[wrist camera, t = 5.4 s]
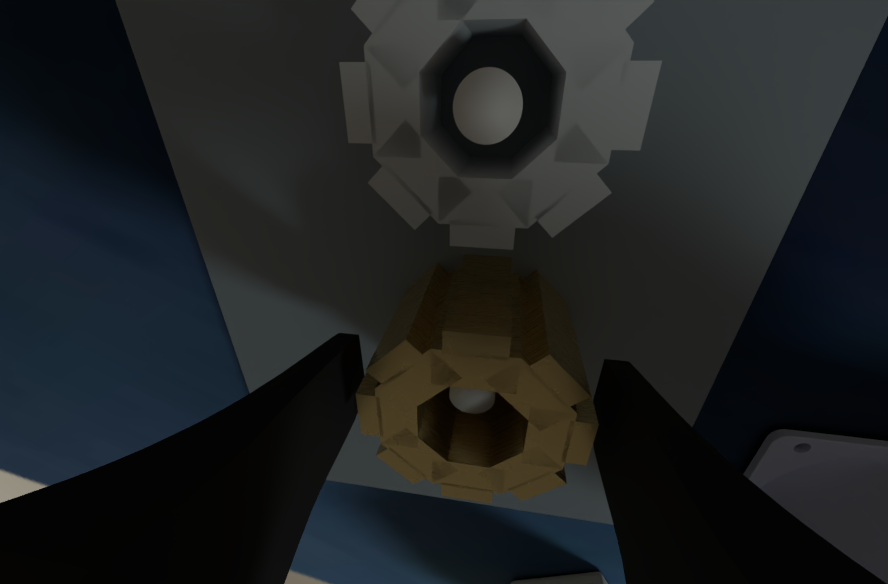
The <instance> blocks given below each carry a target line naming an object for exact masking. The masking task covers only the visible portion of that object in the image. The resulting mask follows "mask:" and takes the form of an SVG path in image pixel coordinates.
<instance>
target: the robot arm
mask: <svg viewBox="0 0 888 584" xmlns="http://www.w3.org/2000/svg"><path fill="white" fill-rule="evenodd" d="M363 378H364V368H363V361H362V353H361V346H360V338H359V335H357V334H347V333H338V334H336V335H335V336H333V337H332V338H330V339H329V340H327V341H326V342H325V343H323V344H322V345H320V346H319V347H318V348H316V349H315V350H313V351H312V352H311V353H309V354H308V355H307V356H305V357H304V358H302V359H301V360H299V361H298V362H297V363H295V364H294V365H292V366H291V367H289V368H288V369H287V370H285V371H284V372H282V373H281V374H279V375H278V376H276V377H275V378H273V379H272V380H270V381H268V382H267V383H265V384H264V385H262V386H261V387H259V388H258V389H256V390H254V391H253V392H251V393H250V394H248V395H247V396H245V397H243V398H242V399H240V400H238V401H237V402H235V403H233V404H232V405H230V406H228V407H226V408H225V409H223V410H221V411H219V412H217V413H215V414H214V415H212V416H210V417H208V418H206V419H204V420H202V421H201V422H199V423H197V424H195V425H193V426H191V427H189V428H187V429H184V430H182V431H180V432H178V433H176V434H174V435H172V436H170V437H168V438H166V439H163V440H161V441H159V442H157V443H155V444H153V445H151V446H149V447H146V448H144V449H142V450H140V451H137V452H135V453H133V454H130V455H128V456H126V457H123V458H121V459H119V460H116V461H114V462H111V463H109V464H106V465H104V466H101V467H99V468H96V469H94V470H91V471H89V472H86V473H83V474H81V475H78V476H76V477H73V478H70V479H68V480H65V481H62V482H59V483H56V484H53V485H51V486H48V487H45V488H42V489H39V490H37V491H34V492H31V493H28V494H25V495H22V496H20V497H17V498H14V499H11V500H8V501H5V502H2V503H0V584H284V583H285V580H286V577H287V574H288V572H289V569H290V566H291V563H292V561H293V558H294V555H295V552H296V550H297V547H298V544H299V542H300V539H301V536H302V534H303V531H304V529H305V526H306V523H307V521H308V518H309V516H310V513H311V510H312V508H313V506H314V504H315V501H316V499H317V497H318V495H319V492H320V490H321V488H322V486H323V484H324V482H325V480H326V478H327V476H328V474H329V472H330V470H331V468H332V466H333V464H334V462H335V460H336V458H337V456H338V454H339V452H340V450H341V448H342V446H343V444H344V442H345V440H346V438H347V436H348V434H349V432H350V430H351V427H352V425H353V423H354V421H355V419H356V416H357V413H358V408H357V401H356V392H357V390H358V388H359V386H360V384H361V382H362V380H363ZM593 404H594V408H595V412H596V415H597V419H598V423H599V426H598V429H597V432H596V436H595V439H594V442H593V446H594V452H595V456H596V460H597V464H598V468H599V472H600V475H601V479H602V483H603V487H604V491H605V494H606V498H607V502H608V506H609V509H610V513H611V517H612V521H613V524H614V528H615V532H616V536H617V539H618V544H619V548H620V553H621V557H622V562H623V567H624V573H625V579H626V584H888V441H883V440H874V439H866V438H857V437H849V436H840V435H831V434H823V433H814V432H805V431H797V430H788V429H779V430H775V431H773V432H771V433H770V434H769V435H768V436H767V437H766V439H765V440H764V442H763V443H762V445H761V447H760V448H759V450H758V451H757V453H756V455H755V456H754V458H753V459H752V461H751V463H750V464H749V466H748V467H747V469H746V471H745V472H744V474H742V473H741V472H740V471H739V470H738V469H736V468H735V467H734V466H733V465H732V464H731V463H730V462H729V461H727V460H726V459H725V458H724V457H723V456H722V455H721V454H720V453H719V452H718V451H717V450H716V449H714V448H713V447H712V446H711V445H710V444H709V443H708V442H707V441H706V440H705V439H704V438H703V437H702V436H701V435H700V434H699V433H698V432H696V431H695V430H694V429H693V428H692V427H691V426H690V425H689V424H688V423H687V422H686V421H685V420H684V419H683V418H682V417H681V416H680V415H679V414H678V413H677V412H676V411H675V410H674V408H673V407H672V406H671V405H670V404H669V403H668V402H667V401H666V400H665V399H664V398H663V397H662V396H661V395H660V394H659V393H658V392H657V391H656V390H655V388H654V387H653V386H652V385H651V384H650V383H649V382H648V381H647V380H646V379H645V378H644V377H643V376H642V375H641V373H640V372H639V371H638V370H637V369H636V368H635V367H634V366H633V365H632V364H631V363H630V362H629V361H621V360H611V359H604V362H603V366H602V370H601V373H600V377H599V381H598V384H597V388H596V392H595V395H594V399H593Z"/></svg>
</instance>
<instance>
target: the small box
mask: <svg viewBox="0 0 888 584" xmlns="http://www.w3.org/2000/svg"><path fill="white" fill-rule="evenodd" d="M511 584H608V583H607V581H606V580H605V578H604V577H603V575H602V574H601V572H598V571H597V572H589V573H580V574H571V575H562V576H552V577H544V578H534V579H525V580H516V581H512V582H511Z"/></svg>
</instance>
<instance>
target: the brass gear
mask: <svg viewBox="0 0 888 584" xmlns="http://www.w3.org/2000/svg"><path fill="white" fill-rule="evenodd" d="M365 371H367V372H366V374H365V376H364V378H363V380H362V382H361V384H360V386H359V388H358V390H357V392H356V401H357V408H358V415H359V421H360V428H361V434H365V435H372V436H379V437H380V441H381V443H380V446H379V449H378V451H377V454H376V456H377V457H378V458H380V459H381V460H382V461H383V462H385V463H386V464H387V465H389V466H390V467H391V468H393V469H394V470H395V471H397V472H398V473H399V474H401V475H402V476H403V477H404V478H406V479H407V480H408V481H410V482H411V483H412V484H415V483H417V482H419V481H421V480H423V479H425V478H426V479H427V480H429V481H430V482H431V483H434V484H440V485H441V496H446V497H452V498H459V499H465V500H471V501H477V502H484V503H490V504H492V497H493V493H499V494H504V493H506V492H509V491H510V492H512V493H513V494H514V495H515V496H516V497H518V498H519V499H520V500H521V501H524V500H527V499H529V498H532V497H534V496H537V495H539V494H542V493H545V492H547V491H550V490H552V489H555V488H557V487H560V486H563V485H565V484H567V482H566V475H565V468H564V464H565V463H572V464H579V465H587V462H588V459H589V455H590V452H591V449H592V445H593V442H594V439H595V436H596V432H597V429H598V426H599V423H598V419H597V415H596V412H595V408H594V404H593V400H592V396H591V392H590V388H589V384H588V380H587V376H586V372H585V369H584V365H583V361H582V357H581V353H580V349H579V345H578V341H577V337H576V333H575V330H574V326H573V324H572V321H571V317H570V313H569V309H568V305H567V301H566V300H565V299H564V298H563V297H562V296H561V294H560V293H559V292H558V291H557V290H556V289H555V288H554V287H553V286H552V285H551V283H550V282H549V281H548V280H547V279H546V278H545V277H544V276H543V275H542V274H541V272H540V271H539V270H538V269H537V270H536V271H534V272H533V273H531V274H530V275H529V276H527V277H526V278H523V277H522V276H521V275H520V274H519V273H512V257H503V256H488V255H474V254H464V255H463V259H462V262H461V266H460V269H458V268H455V269H454V270H452V271H451V272H450V273H449V272H448V271H447V270H446V269H445V268H444V267H443V266H442V265H441V264H440V263H439V262H437V263H436V264H435V265H434V266H432V267H431V268H430V269H429V270H428V271H427V272H425V273H424V274H423V275H422V276H421V277H419V278H418V279H417V280H416V281H415V282H414V283H412V284H411V285H410V286H409V287H408V288H407V290H406V292H405V294H404V296H403V298H402V299H401V301H400V303H399V305H398V307H397V309H396V311H395V313H394V315H393V317H392V319H391V321H390V323H389V325H388V327H387V329H386V331H385V333H384V335H383V337H382V339H381V341H380V343H379V345H378V347H377V349H376V350H375V352H374V354H373V356H372V358H371V360H370V362H369V364H368V366H367V368H366V370H365ZM450 387H458V388H467V389H475V390H484V391H492V392H495V402H494V404H493V406H492V407H491V408H490V409H489V410H487V411H486V412H483V413H478V414H471V413H466V412H463V411H461V410H459V409H458V408H456V407H455V406H454V405H453V404H452V402H451V401H450V398H449V392H450Z"/></svg>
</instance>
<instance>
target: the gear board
mask: <svg viewBox="0 0 888 584" xmlns="http://www.w3.org/2000/svg"><path fill="white" fill-rule="evenodd" d="M115 1H116V4H117V7H118V10H119V12H120V15H121V18H122V21H123V24H124V27H125V30H126V33H127V36H128V39H129V42H130V45H131V48H132V50H133V53H134V56H135V59H136V62H137V65H138V68H139V71H140V74H141V77H142V80H143V83H144V86H145V89H146V91H147V94H148V97H149V100H150V103H151V106H152V109H153V112H154V115H155V118H156V121H157V124H158V127H159V129H160V132H161V135H162V138H163V141H164V144H165V147H166V150H167V153H168V156H169V159H170V162H171V165H172V167H173V170H174V173H175V176H176V179H177V182H178V185H179V188H180V191H181V194H182V197H183V200H184V203H185V205H186V208H187V211H188V214H189V217H190V220H191V223H192V226H193V229H194V232H195V235H196V238H197V241H198V244H199V246H200V249H201V252H202V255H203V258H204V261H205V264H206V267H207V270H208V273H209V276H210V279H211V282H212V284H213V287H214V290H215V293H216V296H217V299H218V302H219V305H220V308H221V311H222V314H223V317H224V320H225V322H226V325H227V328H228V331H229V334H230V337H231V340H232V343H233V346H234V349H235V352H236V355H237V358H238V360H239V363H240V366H241V369H242V372H243V375H244V378H245V381H246V384H247V387H248V390H249V393H251V392H253V391H254V390H256V389H258V388H259V387H261V386H262V385H264V384H265V383H267V382H268V381H270V380H272V379H273V378H275V377H276V376H278V375H279V374H281V373H282V372H284V371H285V370H287V369H288V368H289V367H291V366H292V365H294V364H295V363H297V362H298V361H299V360H301V359H302V358H304V357H305V356H307V355H308V354H309V353H311V352H312V351H313V350H315V349H316V348H318V347H319V346H320V345H322V344H323V343H325V342H326V341H327V340H329V339H330V338H332V337H333V336H335V335H336V334H338V333H347V334H357V335H359V338H360V346H361V353H362V361H363V368H364V376H365V374H366V372H367V371H365V370H366V368H367V366H368V364H369V362H370V360H371V358H372V356H373V354H374V352H375V350H376V349H377V347H378V345H379V343H380V341H381V339H382V337H383V335H384V333H385V331H386V329H387V327H388V325H389V323H390V321H391V319H392V317H393V315H394V313H395V311H396V309H397V307H398V305H399V303H400V301H401V299H402V298H403V296H404V294H405V292H406V290H407V288H408V287H409V286H410V285H411V284H412V283H414V282H415V281H416V280H417V279H418V278H419V277H421V276H422V275H423V274H424V273H425V272H427V271H428V270H429V269H430V268H431V267H432V266H434V265H435V264H436V263H437V262H439V263H440V264H441V265H442V266H443V267H444V268H445V269H446V270H447V271H448V272H449V273H450V272H451V271H452V270H454V269H455V268H458V269H460V266H461V262H462V259H463V255H464V254H474V255H488V256H503V257H512V273H519V274H520V275H521V276H522V277H523V278H526V277H527V276H529V275H530V274H531V273H533V272H534V271H536V270H537V269H538V270H539V271H540V272H541V274H542V275H543V276H544V277H545V278H546V279H547V280H548V281H549V282H550V283H551V285H552V286H553V287H554V288H555V289H556V290H557V291H558V292H559V293H560V294H561V296H562V297H563V298H564V299H565V300H566V301H567V305H568V309H569V313H570V317H571V321H572V324H573V326H574V330H575V333H576V337H577V341H578V345H579V349H580V353H581V357H582V361H583V365H584V369H585V372H586V376H587V380H588V384H589V388H590V392H591V396H592V400H593V399H594V395H595V392H596V388H597V384H598V381H599V377H600V373H601V370H602V366H603V362H604V359H611V360H621V361H629V362H630V363H631V364H632V365H633V366H634V367H635V368H636V369H637V370H638V371H639V372H640V373H641V375H642V376H643V377H644V378H645V379H646V380H647V381H648V382H649V383H650V384H651V385H652V386H653V387H654V388H655V390H656V391H657V392H658V393H659V394H660V395H661V396H662V397H663V398H664V399H665V400H666V401H667V402H668V403H669V404H670V405H671V406H672V407H673V408H674V410H675V411H676V412H677V413H678V414H679V415H680V416H681V417H682V418H683V419H684V420H685V421H686V422H687V423H688V424H689V425H690V426H691V427H693V425H694V423H695V421H696V419H697V417H698V414H699V412H700V410H701V408H702V406H703V404H704V402H705V400H706V398H707V395H708V393H709V391H710V389H711V387H712V385H713V383H714V381H715V379H716V377H717V374H718V372H719V370H720V368H721V366H722V364H723V362H724V360H725V358H726V355H727V353H728V351H729V349H730V347H731V345H732V343H733V341H734V339H735V336H736V334H737V332H738V330H739V328H740V326H741V324H742V322H743V320H744V317H745V315H746V313H747V311H748V309H749V307H750V305H751V303H752V301H753V299H754V296H755V294H756V292H757V290H758V288H759V286H760V284H761V282H762V280H763V277H764V275H765V273H766V271H767V269H768V267H769V265H770V263H771V261H772V258H773V256H774V254H775V252H776V250H777V248H778V246H779V244H780V242H781V239H782V237H783V235H784V233H785V231H786V229H787V227H788V225H789V223H790V221H791V218H792V216H793V214H794V212H795V210H796V208H797V206H798V204H799V202H800V199H801V197H802V195H803V193H804V191H805V189H806V187H807V185H808V183H809V180H810V178H811V176H812V174H813V172H814V170H815V168H816V166H817V164H818V161H819V159H820V157H821V155H822V153H823V151H824V149H825V147H826V145H827V143H828V140H829V138H830V136H831V134H832V132H833V130H834V128H835V126H836V124H837V121H838V119H839V117H840V115H841V113H842V111H843V109H844V107H845V105H846V102H847V100H848V98H849V96H850V94H851V92H852V90H853V88H854V86H855V83H856V81H857V79H858V77H859V75H860V73H861V71H862V69H863V67H864V65H865V62H866V60H867V58H868V56H869V54H870V52H871V50H872V48H873V46H874V43H875V41H876V39H877V37H878V35H879V33H880V31H881V29H882V27H883V24H884V22H885V20H886V18H887V16H888V0H115ZM449 398H450V401H451V402H452V404H453V405H454V406H455V407H456V408H458V409H459V410H461V411H463V412H466V413H471V414H478V413H483V412H486V411H487V410H489V409H490V408H491V407H492V406H493V404H494V402H495V392H492V391H484V390H475V389H467V388H458V387H450V392H449ZM380 443H381V441H380V437H379V436H372V435H365V434H361V428H360V421H359V415H358V413H357V416H356V419H355V421H354V423H353V425H352V427H351V430H350V432H349V434H348V436H347V438H346V440H345V442H344V444H343V446H342V448H341V450H340V452H339V454H338V456H337V458H336V460H335V462H334V464H333V466H332V468H331V470H330V472H329V474H328V476H327V478H326V480H330V481H336V482H343V483H349V484H356V485H362V486H369V487H375V488H381V489H388V490H394V491H401V492H407V493H413V494H420V495H426V496H433V497H439V498H446V499H452V500H458V501H465V502H471V503H478V504H484V505H491V506H497V507H503V508H510V509H516V510H523V511H529V512H535V513H542V514H548V515H555V516H561V517H568V518H574V519H580V520H587V521H593V522H600V523H606V524H612V525H614V524H613V521H612V517H611V513H610V509H609V506H608V502H607V498H606V494H605V491H604V487H603V483H602V479H601V475H600V472H599V468H598V464H597V460H596V456H595V452H594V446H593V445H592V449H591V452H590V455H589V459H588V462H587V465H579V464H572V463H565V464H564V468H565V475H566V482H567V484H565V485H563V486H560V487H557V488H555V489H552V490H550V491H547V492H545V493H542V494H539V495H537V496H534V497H532V498H529V499H527V500H524V501H521V500H520V499H519V498H518V497H516V496H515V495H514V494H513V493H512V492H510V491H509V492H506V493H504V494H499V493H493V497H492V504H490V503H484V502H477V501H471V500H465V499H459V498H452V497H446V496H441V485H440V484H434V483H431V482H430V481H429V480H427V479H426V478H425V479H423V480H421V481H419V482H417V483H415V484H412V483H411V482H410V481H408V480H407V479H406V478H404V477H403V476H402V475H401V474H399V473H398V472H397V471H395V470H394V469H393V468H391V467H390V466H389V465H387V464H386V463H385V462H383V461H382V460H381V459H380V458H378V457H377V456H376V454H377V451H378V449H379V446H380Z"/></svg>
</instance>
